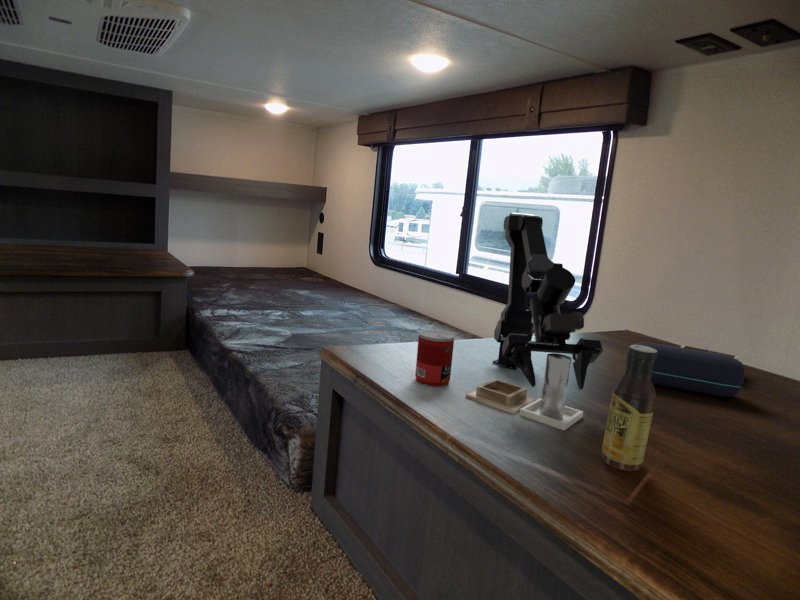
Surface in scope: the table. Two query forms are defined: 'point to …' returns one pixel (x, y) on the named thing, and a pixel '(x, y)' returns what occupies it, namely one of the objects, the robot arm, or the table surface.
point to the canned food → (434, 357)
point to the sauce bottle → (631, 411)
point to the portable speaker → (696, 370)
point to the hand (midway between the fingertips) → (557, 387)
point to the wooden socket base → (501, 395)
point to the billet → (555, 386)
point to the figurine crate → (708, 350)
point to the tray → (568, 418)
